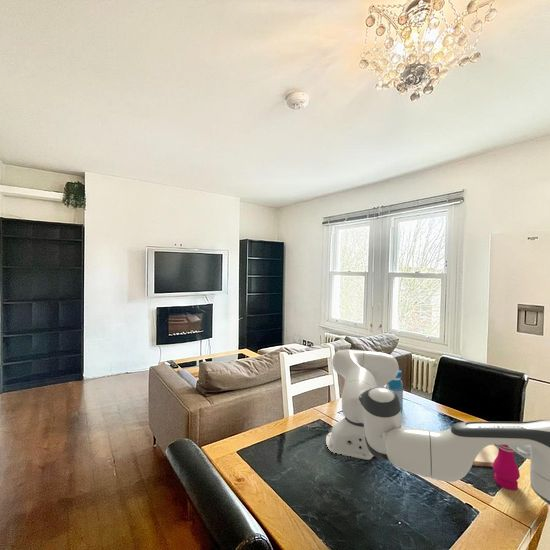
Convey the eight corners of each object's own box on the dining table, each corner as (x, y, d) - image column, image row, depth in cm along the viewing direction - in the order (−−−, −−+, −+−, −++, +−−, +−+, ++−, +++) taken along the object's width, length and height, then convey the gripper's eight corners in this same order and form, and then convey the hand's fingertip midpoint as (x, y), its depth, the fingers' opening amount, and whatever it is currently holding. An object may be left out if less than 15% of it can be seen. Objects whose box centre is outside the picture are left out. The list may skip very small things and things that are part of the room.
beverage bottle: (395, 413, 152) (395, 374, 151) (382, 407, 159) (382, 369, 159) (406, 410, 156) (406, 371, 155) (393, 403, 163) (393, 366, 163)
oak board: (467, 464, 112) (467, 460, 112) (448, 440, 128) (448, 437, 128) (514, 468, 110) (514, 464, 110) (489, 443, 125) (489, 439, 125)
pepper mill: (524, 492, 97) (525, 431, 97) (499, 489, 99) (500, 429, 99) (511, 477, 105) (512, 420, 104) (488, 475, 106) (489, 418, 106)
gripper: (525, 469, 77) (493, 439, 91) (616, 477, 74) (570, 445, 88) (525, 444, 77) (494, 418, 91) (617, 451, 74) (570, 423, 88)
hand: (532, 431), depth 89 cm, fingers open, 8 cm apart
